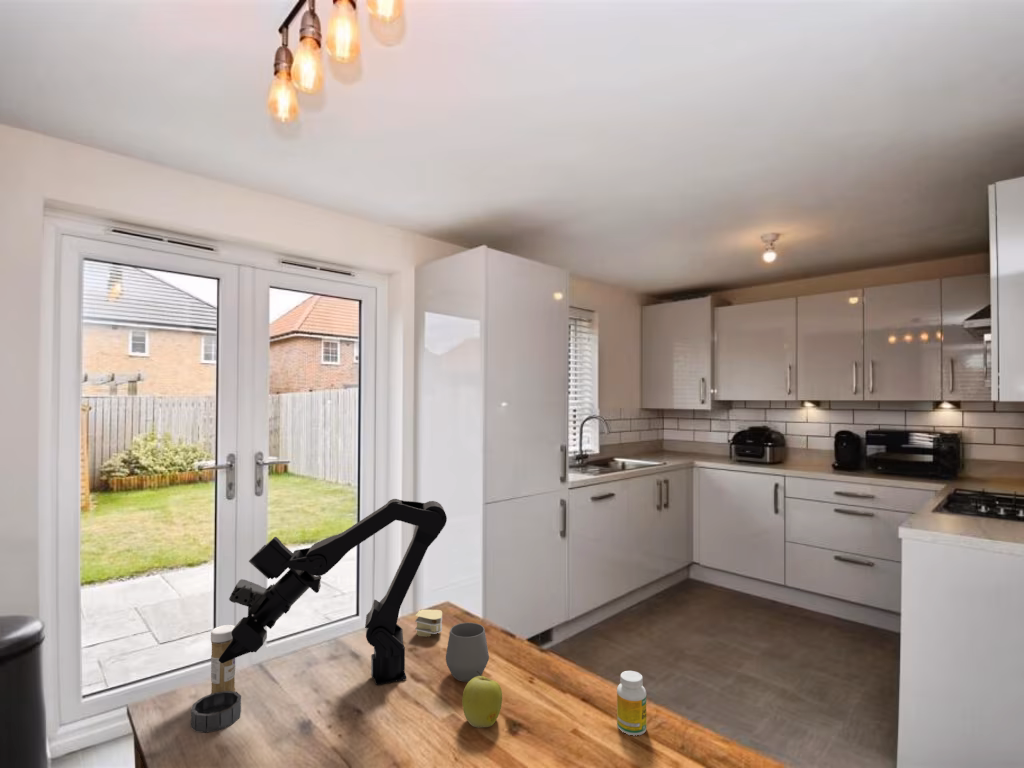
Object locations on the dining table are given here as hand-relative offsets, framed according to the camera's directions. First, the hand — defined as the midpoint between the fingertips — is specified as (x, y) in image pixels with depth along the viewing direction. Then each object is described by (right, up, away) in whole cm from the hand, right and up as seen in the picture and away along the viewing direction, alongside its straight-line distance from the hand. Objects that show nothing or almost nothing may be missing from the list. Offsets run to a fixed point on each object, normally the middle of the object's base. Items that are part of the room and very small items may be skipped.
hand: (227, 650), depth 112 cm
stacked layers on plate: (+38, -10, +28) cm, 48 cm away
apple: (+53, -9, -9) cm, 55 cm away
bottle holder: (+3, -9, -9) cm, 13 cm away
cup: (+49, -9, +7) cm, 50 cm away
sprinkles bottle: (-1, -9, 0) cm, 9 cm away
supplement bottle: (+81, -9, -12) cm, 82 cm away
